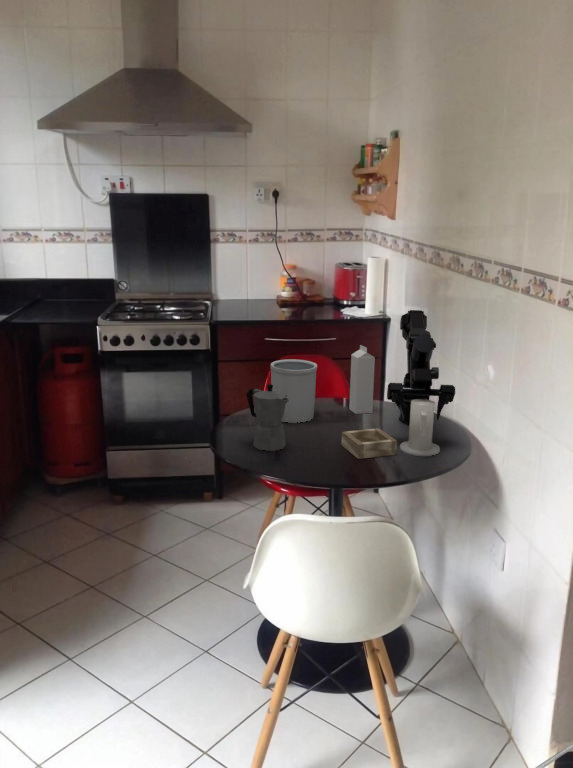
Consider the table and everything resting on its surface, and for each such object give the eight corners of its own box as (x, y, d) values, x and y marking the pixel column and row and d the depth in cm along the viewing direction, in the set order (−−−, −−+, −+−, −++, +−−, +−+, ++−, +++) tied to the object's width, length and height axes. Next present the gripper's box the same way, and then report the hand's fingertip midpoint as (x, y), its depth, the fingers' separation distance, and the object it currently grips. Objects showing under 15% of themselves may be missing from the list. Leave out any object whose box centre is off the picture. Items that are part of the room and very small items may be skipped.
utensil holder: (325, 417, 216) (326, 364, 212) (293, 427, 206) (294, 371, 202) (292, 407, 226) (293, 357, 222) (260, 416, 216) (260, 363, 212)
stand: (377, 441, 194) (378, 428, 193) (396, 454, 184) (396, 440, 183) (341, 445, 191) (341, 431, 190) (358, 458, 180) (358, 444, 179)
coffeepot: (298, 447, 189) (299, 385, 184) (275, 455, 182) (276, 391, 177) (258, 435, 198) (258, 376, 194) (235, 442, 191) (235, 381, 187)
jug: (407, 442, 191) (410, 398, 188) (430, 443, 191) (433, 399, 188) (410, 453, 182) (412, 408, 179) (433, 454, 182) (437, 408, 178)
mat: (426, 441, 195) (427, 438, 195) (447, 454, 185) (447, 451, 185) (392, 445, 191) (393, 442, 191) (412, 458, 181) (412, 455, 181)
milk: (355, 414, 220) (357, 348, 215) (349, 409, 226) (351, 345, 220) (372, 413, 222) (375, 347, 216) (365, 407, 227) (368, 344, 222)
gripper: (389, 355, 189) (389, 403, 181) (457, 357, 187) (459, 406, 179) (387, 375, 198) (386, 422, 191) (451, 377, 197) (453, 425, 189)
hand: (421, 418), depth 187 cm, fingers open, 9 cm apart
